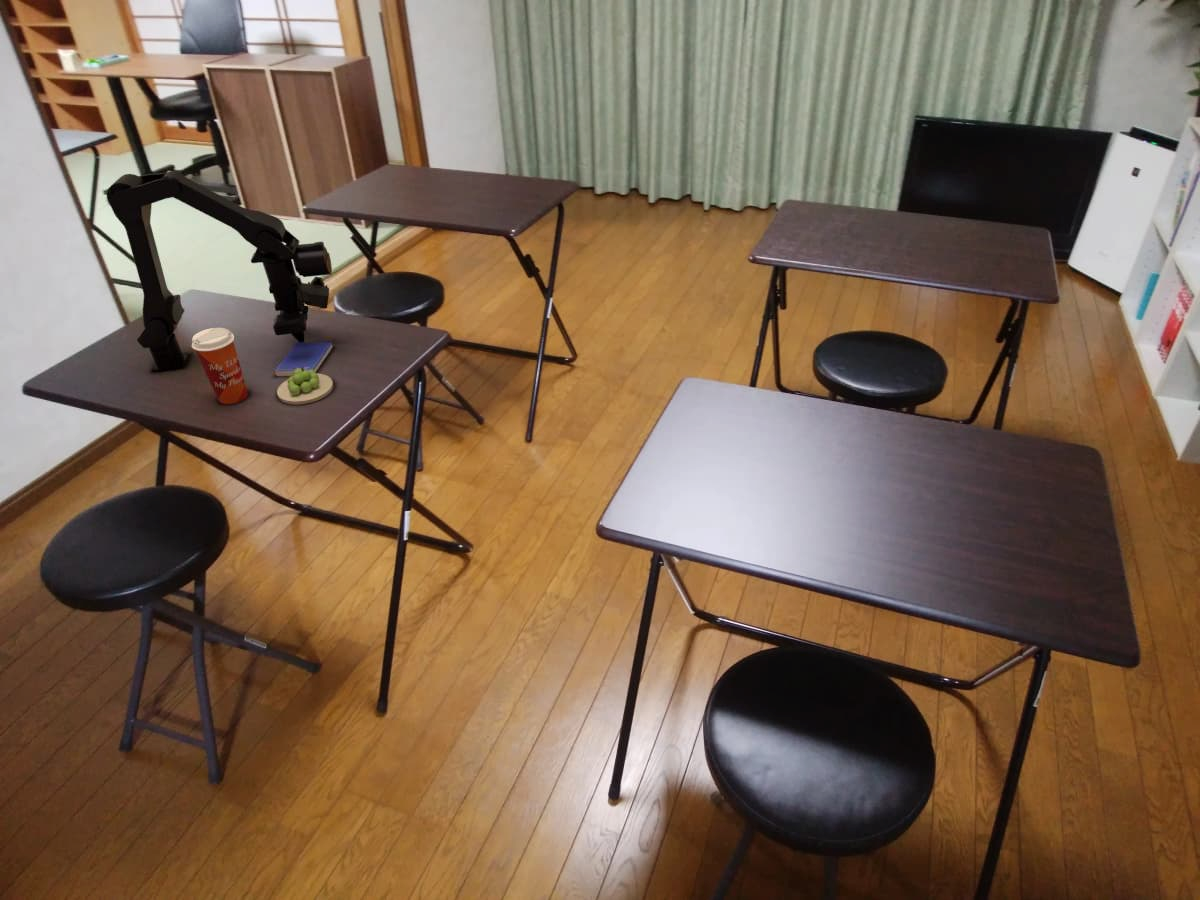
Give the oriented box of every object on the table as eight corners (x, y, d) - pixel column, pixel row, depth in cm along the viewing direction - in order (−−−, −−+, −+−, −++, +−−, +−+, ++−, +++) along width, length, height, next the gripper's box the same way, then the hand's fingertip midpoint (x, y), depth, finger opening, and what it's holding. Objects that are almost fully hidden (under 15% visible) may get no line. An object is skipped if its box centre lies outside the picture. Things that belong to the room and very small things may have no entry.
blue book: (312, 369, 160) (331, 342, 170) (274, 369, 160) (295, 342, 170) (313, 376, 161) (332, 348, 171) (276, 376, 161) (297, 348, 171)
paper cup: (226, 411, 151) (202, 348, 142) (205, 399, 154) (181, 337, 146) (261, 394, 156) (240, 332, 147) (240, 382, 159) (219, 322, 151)
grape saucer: (280, 380, 160) (279, 377, 159) (334, 373, 162) (333, 370, 161) (275, 408, 151) (274, 404, 151) (332, 400, 153) (331, 396, 153)
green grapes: (290, 379, 158) (284, 359, 155) (321, 375, 159) (315, 355, 157) (287, 398, 152) (280, 377, 150) (319, 393, 154) (313, 372, 151)
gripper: (320, 292, 155) (338, 357, 165) (322, 255, 169) (339, 317, 179) (263, 300, 153) (285, 365, 163) (270, 261, 167) (290, 324, 177)
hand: (302, 341), depth 171 cm, fingers closed, pressing on blue book
